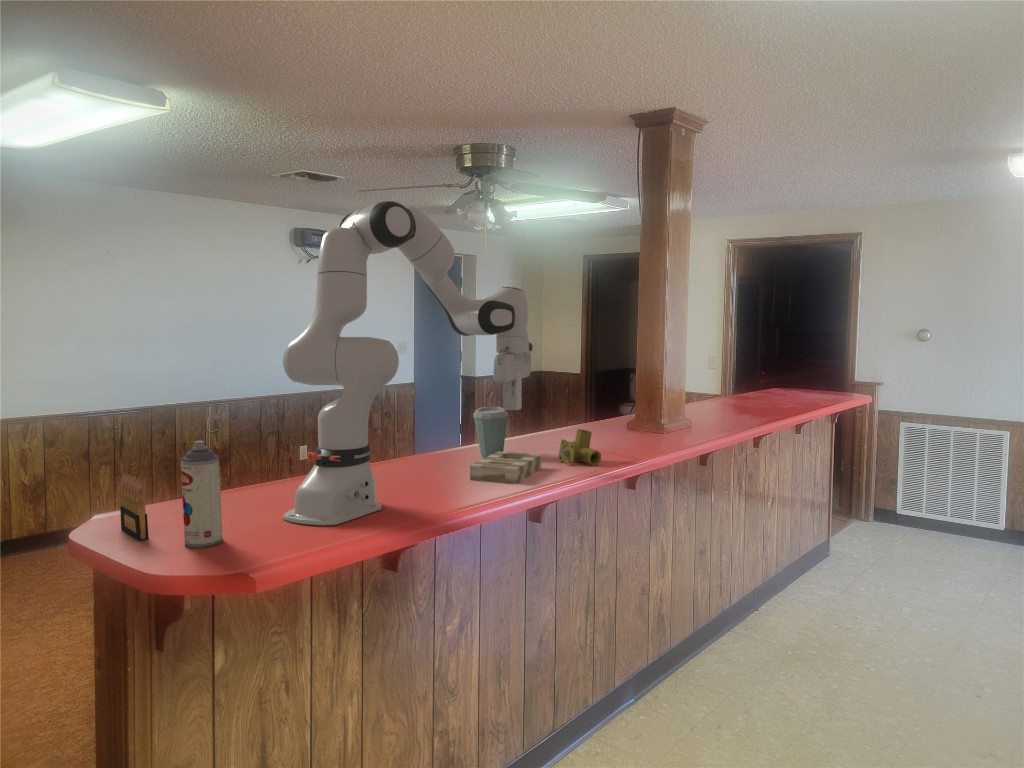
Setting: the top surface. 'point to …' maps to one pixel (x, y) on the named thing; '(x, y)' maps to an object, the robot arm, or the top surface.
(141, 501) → the ammunition clip
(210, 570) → the top surface
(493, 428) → the disposable coffee cup
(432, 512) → the top surface
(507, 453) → the tan flat slatted block
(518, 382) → the square bit
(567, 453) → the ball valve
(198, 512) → the aerosol can
